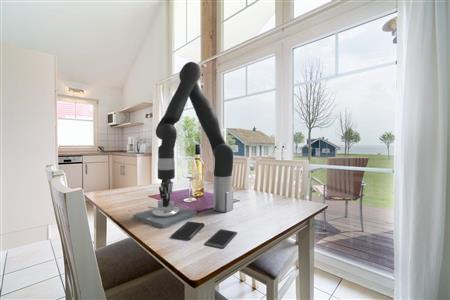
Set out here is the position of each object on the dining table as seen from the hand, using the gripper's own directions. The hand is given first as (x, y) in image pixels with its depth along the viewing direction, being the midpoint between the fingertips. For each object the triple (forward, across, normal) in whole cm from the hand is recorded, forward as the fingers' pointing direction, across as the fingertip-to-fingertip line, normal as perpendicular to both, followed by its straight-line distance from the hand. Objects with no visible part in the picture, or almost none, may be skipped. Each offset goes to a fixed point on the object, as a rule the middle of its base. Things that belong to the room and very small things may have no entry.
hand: (166, 205), depth 100 cm
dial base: (+5, 0, 0) cm, 5 cm away
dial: (+3, 0, +2) cm, 4 cm away
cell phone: (+6, -22, -26) cm, 34 cm away
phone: (+6, -16, -13) cm, 21 cm away
